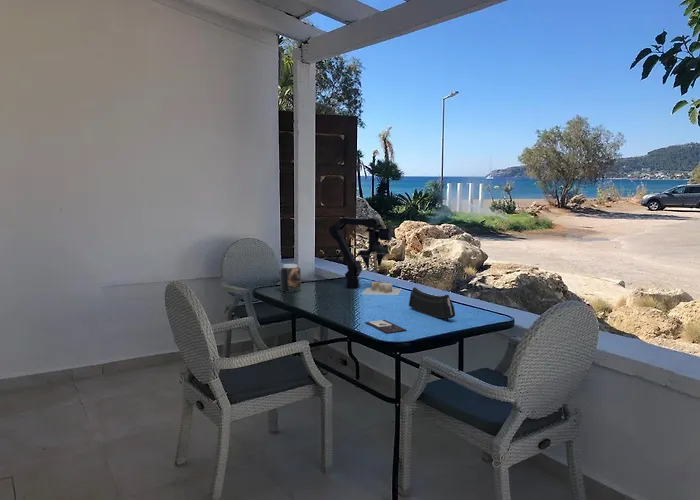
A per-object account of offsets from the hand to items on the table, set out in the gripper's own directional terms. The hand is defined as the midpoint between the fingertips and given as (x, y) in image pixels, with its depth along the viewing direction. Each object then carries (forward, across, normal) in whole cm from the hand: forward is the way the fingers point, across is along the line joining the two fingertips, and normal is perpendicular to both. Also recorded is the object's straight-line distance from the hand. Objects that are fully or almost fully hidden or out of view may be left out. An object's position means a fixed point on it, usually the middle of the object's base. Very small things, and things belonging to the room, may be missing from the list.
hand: (373, 266), depth 282 cm
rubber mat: (+13, -4, -10) cm, 17 cm away
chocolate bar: (+13, -56, -62) cm, 85 cm away
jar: (+14, -36, +30) cm, 49 cm away
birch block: (+10, -4, -4) cm, 11 cm away
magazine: (+13, -26, -62) cm, 68 cm away
